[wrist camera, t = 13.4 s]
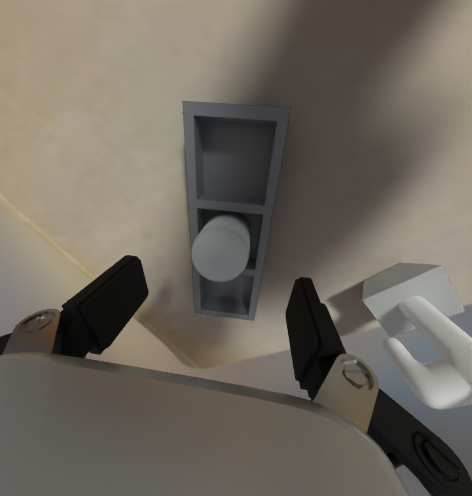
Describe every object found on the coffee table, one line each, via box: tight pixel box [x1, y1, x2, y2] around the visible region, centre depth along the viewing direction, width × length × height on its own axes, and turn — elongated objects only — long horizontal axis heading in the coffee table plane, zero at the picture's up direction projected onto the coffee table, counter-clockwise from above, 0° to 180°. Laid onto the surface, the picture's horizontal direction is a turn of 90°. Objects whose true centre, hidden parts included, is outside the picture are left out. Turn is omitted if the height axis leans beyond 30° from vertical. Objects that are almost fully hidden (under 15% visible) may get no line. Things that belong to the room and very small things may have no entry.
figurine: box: [362, 263, 472, 409], centre depth 15 cm, size 7×9×15 cm
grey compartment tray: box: [182, 101, 291, 321], centre depth 19 cm, size 22×8×3 cm, turn 176°
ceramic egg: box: [191, 211, 251, 282], centre depth 16 cm, size 5×5×8 cm
